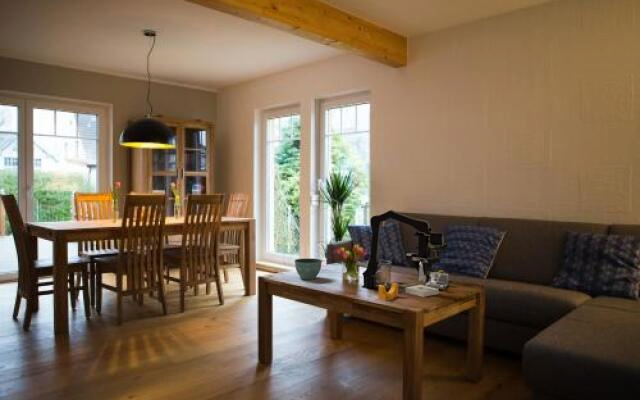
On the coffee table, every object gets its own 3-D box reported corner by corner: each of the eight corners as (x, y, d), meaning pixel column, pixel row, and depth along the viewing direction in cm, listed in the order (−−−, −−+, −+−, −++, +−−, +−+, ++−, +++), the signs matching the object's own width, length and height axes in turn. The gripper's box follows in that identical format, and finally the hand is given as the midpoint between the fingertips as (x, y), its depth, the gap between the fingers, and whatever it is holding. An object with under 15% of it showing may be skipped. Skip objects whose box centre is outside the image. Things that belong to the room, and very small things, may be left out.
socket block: (402, 291, 250) (402, 286, 250) (386, 287, 260) (386, 282, 260) (417, 288, 258) (417, 284, 258) (401, 284, 267) (401, 280, 267)
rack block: (423, 296, 239) (423, 292, 239) (405, 292, 249) (405, 287, 249) (438, 293, 247) (438, 289, 247) (420, 289, 256) (420, 284, 256)
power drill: (447, 283, 274) (448, 240, 273) (417, 280, 280) (418, 238, 279) (448, 280, 282) (450, 238, 281) (420, 277, 288) (421, 236, 288)
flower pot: (288, 278, 280) (289, 260, 279) (307, 274, 292) (307, 257, 292) (309, 282, 269) (309, 263, 269) (327, 278, 281) (327, 260, 281)
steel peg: (422, 282, 245) (423, 262, 245) (417, 280, 248) (417, 261, 248) (427, 281, 247) (427, 262, 247) (421, 280, 250) (422, 261, 250)
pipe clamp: (385, 301, 230) (385, 287, 230) (378, 299, 234) (378, 286, 233) (400, 297, 238) (401, 284, 238) (393, 295, 242) (394, 283, 241)
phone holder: (443, 274, 251) (421, 272, 257) (443, 292, 252) (421, 289, 257) (450, 269, 267) (430, 267, 273) (449, 286, 268) (429, 283, 273)
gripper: (447, 245, 244) (446, 275, 245) (419, 241, 259) (418, 270, 260) (433, 247, 238) (432, 278, 238) (405, 243, 252) (404, 272, 253)
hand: (422, 274), depth 247 cm, fingers closed on steel peg, 4 cm apart
